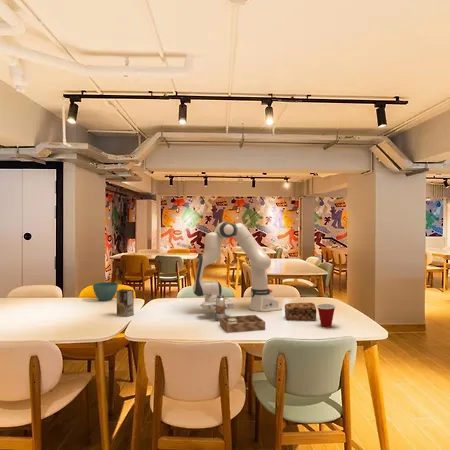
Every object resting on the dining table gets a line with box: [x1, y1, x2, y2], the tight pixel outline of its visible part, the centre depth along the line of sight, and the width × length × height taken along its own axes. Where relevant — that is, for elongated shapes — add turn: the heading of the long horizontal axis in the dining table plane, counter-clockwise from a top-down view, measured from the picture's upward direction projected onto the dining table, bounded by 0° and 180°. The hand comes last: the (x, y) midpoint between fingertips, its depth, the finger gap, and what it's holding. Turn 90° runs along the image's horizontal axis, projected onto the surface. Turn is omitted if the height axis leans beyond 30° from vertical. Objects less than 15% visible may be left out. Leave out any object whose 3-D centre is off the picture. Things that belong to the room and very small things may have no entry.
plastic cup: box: [316, 303, 336, 328], centre depth 220 cm, size 11×11×12 cm
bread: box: [284, 302, 317, 322], centre depth 236 cm, size 19×11×10 cm, turn 85°
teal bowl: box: [92, 281, 119, 302], centre depth 289 cm, size 18×18×12 cm
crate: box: [219, 314, 266, 333], centre depth 217 cm, size 22×16×4 cm
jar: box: [228, 318, 237, 324], centre depth 213 cm, size 5×5×6 cm
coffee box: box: [116, 288, 135, 317], centre depth 243 cm, size 9×6×16 cm
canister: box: [215, 294, 226, 322], centre depth 232 cm, size 6×6×15 cm
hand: (220, 308), depth 231 cm, fingers closed on canister, 6 cm apart
